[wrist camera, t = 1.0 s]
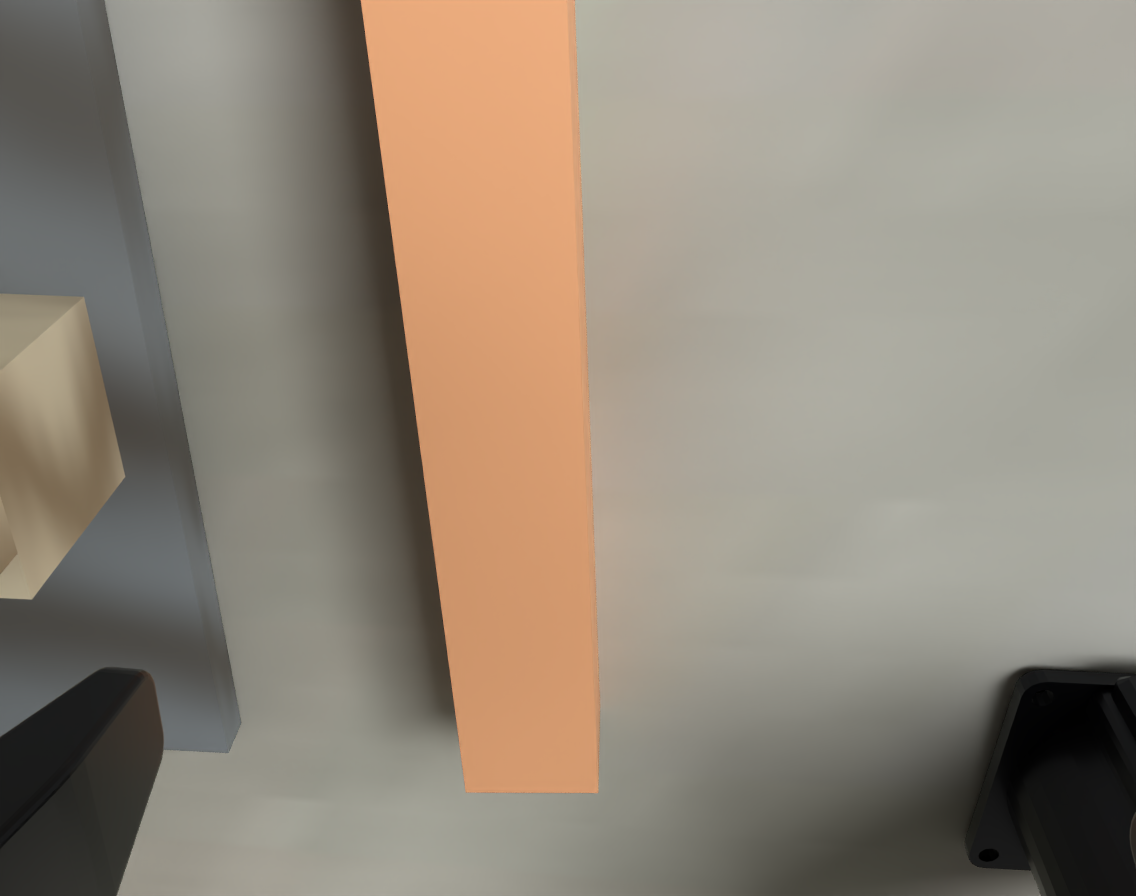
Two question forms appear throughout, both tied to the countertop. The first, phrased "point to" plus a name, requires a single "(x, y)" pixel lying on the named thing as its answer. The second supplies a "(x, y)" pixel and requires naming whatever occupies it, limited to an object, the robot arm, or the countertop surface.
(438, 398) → the bar
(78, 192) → the ridge
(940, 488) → the countertop surface
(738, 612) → the countertop surface
